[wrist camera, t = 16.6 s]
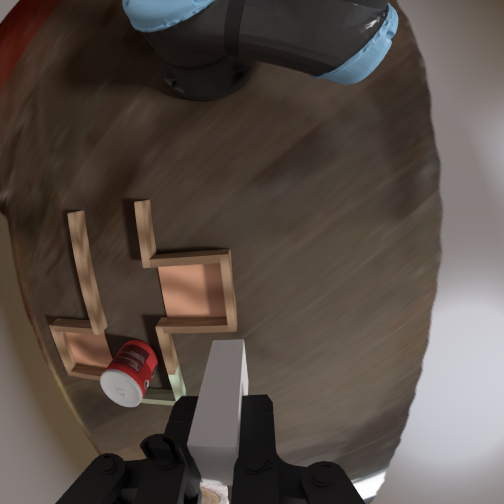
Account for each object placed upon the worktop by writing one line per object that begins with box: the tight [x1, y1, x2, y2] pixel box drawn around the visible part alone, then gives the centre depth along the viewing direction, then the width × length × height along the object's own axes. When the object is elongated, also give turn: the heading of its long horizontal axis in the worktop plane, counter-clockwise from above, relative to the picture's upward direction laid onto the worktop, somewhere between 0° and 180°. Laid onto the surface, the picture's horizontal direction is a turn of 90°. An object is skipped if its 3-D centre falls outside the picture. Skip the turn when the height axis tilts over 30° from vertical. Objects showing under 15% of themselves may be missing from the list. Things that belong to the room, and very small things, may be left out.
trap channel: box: [49, 200, 237, 405], centre depth 44 cm, size 38×38×4 cm
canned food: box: [100, 340, 158, 407], centre depth 43 cm, size 8×8×11 cm
